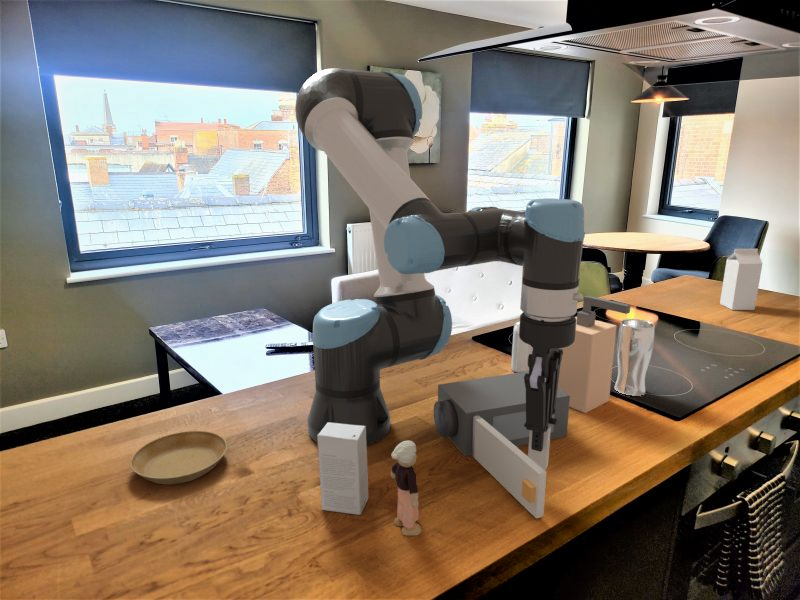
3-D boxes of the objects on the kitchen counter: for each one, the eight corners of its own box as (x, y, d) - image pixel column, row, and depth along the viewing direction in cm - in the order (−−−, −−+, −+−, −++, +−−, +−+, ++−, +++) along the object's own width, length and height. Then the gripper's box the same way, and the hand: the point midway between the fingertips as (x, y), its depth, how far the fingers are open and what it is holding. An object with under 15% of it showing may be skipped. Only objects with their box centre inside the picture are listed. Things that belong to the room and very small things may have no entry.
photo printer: (550, 364, 132) (553, 315, 129) (557, 371, 128) (561, 320, 124) (508, 367, 131) (511, 317, 127) (514, 374, 126) (517, 322, 123)
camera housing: (452, 459, 92) (453, 412, 90) (426, 425, 103) (426, 383, 101) (566, 436, 99) (570, 392, 97) (530, 407, 110) (533, 367, 108)
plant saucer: (157, 443, 98) (155, 429, 98) (239, 443, 98) (238, 430, 97) (114, 492, 84) (111, 477, 84) (210, 493, 84) (208, 478, 83)
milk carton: (754, 310, 174) (764, 250, 169) (731, 310, 174) (741, 250, 169) (741, 304, 181) (751, 246, 176) (719, 304, 181) (728, 246, 176)
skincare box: (369, 498, 82) (367, 425, 79) (360, 516, 78) (358, 440, 75) (330, 493, 84) (327, 421, 80) (320, 510, 80) (316, 435, 76)
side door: (466, 455, 92) (467, 417, 91) (477, 452, 93) (478, 414, 91) (531, 519, 76) (534, 475, 75) (543, 516, 77) (546, 472, 75)
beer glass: (620, 381, 122) (628, 316, 118) (652, 390, 118) (661, 323, 114) (606, 390, 118) (613, 323, 114) (639, 401, 113) (647, 331, 109)
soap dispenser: (548, 398, 114) (556, 295, 108) (572, 387, 119) (581, 288, 114) (604, 421, 105) (616, 309, 99) (628, 408, 110) (640, 301, 104)
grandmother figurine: (434, 533, 75) (435, 449, 71) (411, 545, 72) (411, 459, 69) (401, 504, 81) (401, 426, 77) (379, 514, 79) (377, 434, 75)
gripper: (566, 331, 69) (553, 496, 75) (584, 305, 80) (572, 450, 86) (507, 322, 72) (499, 481, 79) (533, 299, 83) (524, 439, 90)
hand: (537, 465), depth 82 cm, fingers closed
